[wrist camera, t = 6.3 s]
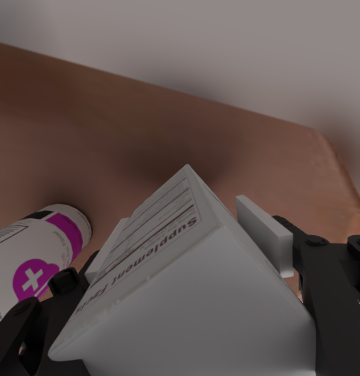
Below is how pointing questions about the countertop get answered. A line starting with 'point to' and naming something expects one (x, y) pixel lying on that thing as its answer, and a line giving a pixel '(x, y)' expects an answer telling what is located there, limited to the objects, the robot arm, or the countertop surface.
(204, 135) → the countertop surface
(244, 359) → the supplement box
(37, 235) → the supplement can
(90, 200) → the countertop surface
